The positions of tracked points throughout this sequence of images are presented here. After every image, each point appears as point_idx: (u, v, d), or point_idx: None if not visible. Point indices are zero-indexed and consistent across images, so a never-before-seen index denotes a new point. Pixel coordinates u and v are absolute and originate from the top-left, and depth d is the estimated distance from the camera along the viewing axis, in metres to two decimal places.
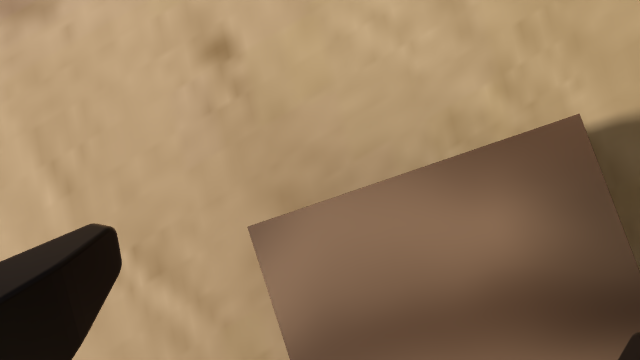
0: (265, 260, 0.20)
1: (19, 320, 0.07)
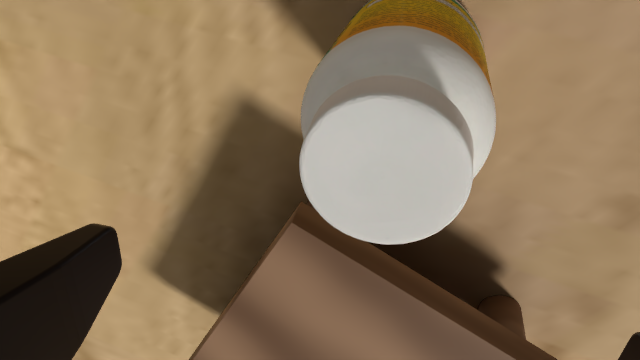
0: None
1: (19, 320, 0.07)
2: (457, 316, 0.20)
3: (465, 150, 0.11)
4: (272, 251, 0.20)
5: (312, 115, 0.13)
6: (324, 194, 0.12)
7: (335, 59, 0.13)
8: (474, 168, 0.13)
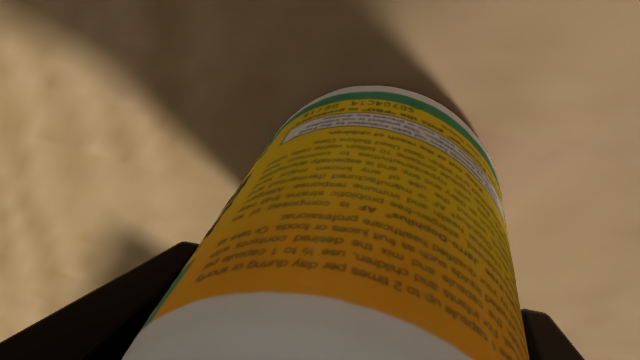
0: None
1: None
2: None
3: None
4: None
5: None
6: None
7: None
8: None
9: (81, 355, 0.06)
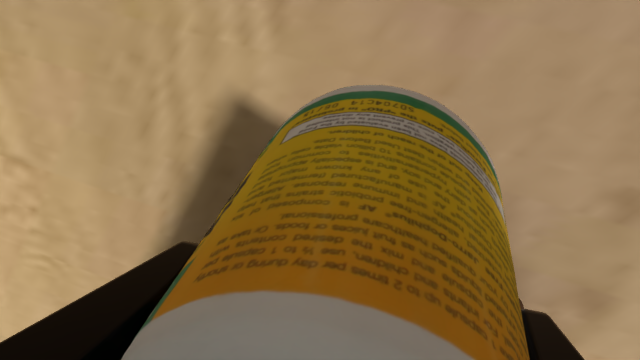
0: None
1: None
2: None
3: None
4: None
5: None
6: None
7: None
8: None
9: (81, 355, 0.06)
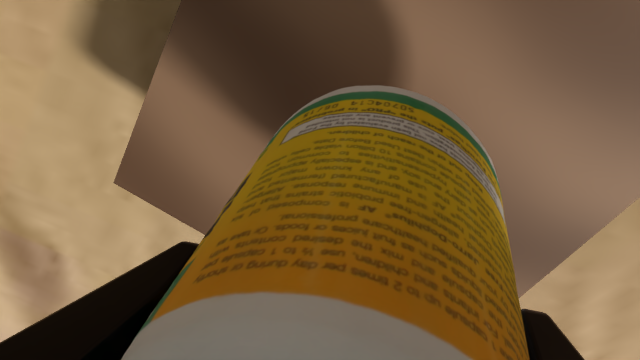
0: None
1: None
2: None
3: None
4: None
5: None
6: None
7: None
8: None
9: (81, 355, 0.06)
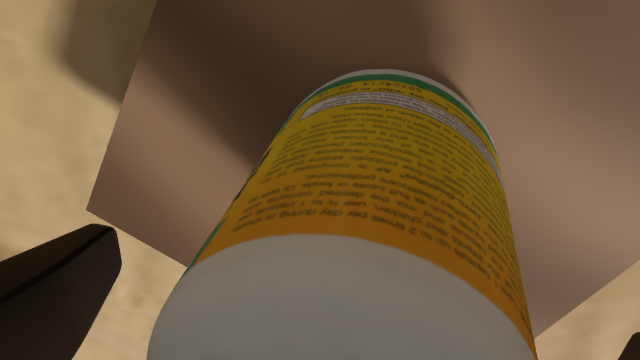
0: None
1: (19, 320, 0.07)
2: None
3: None
4: None
5: None
6: None
7: (189, 310, 0.06)
8: None
9: None
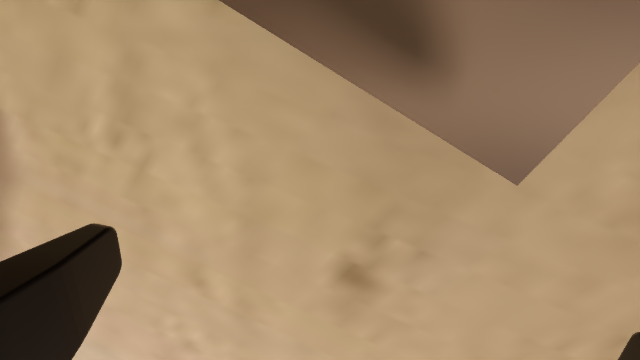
0: (551, 134, 0.11)
1: (19, 320, 0.07)
2: None
3: None
4: None
5: None
6: None
7: None
8: None
9: None
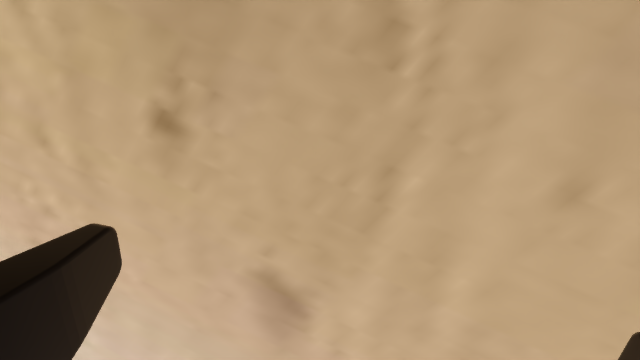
0: None
1: (19, 320, 0.07)
2: None
3: None
4: None
5: None
6: None
7: None
8: None
9: None
